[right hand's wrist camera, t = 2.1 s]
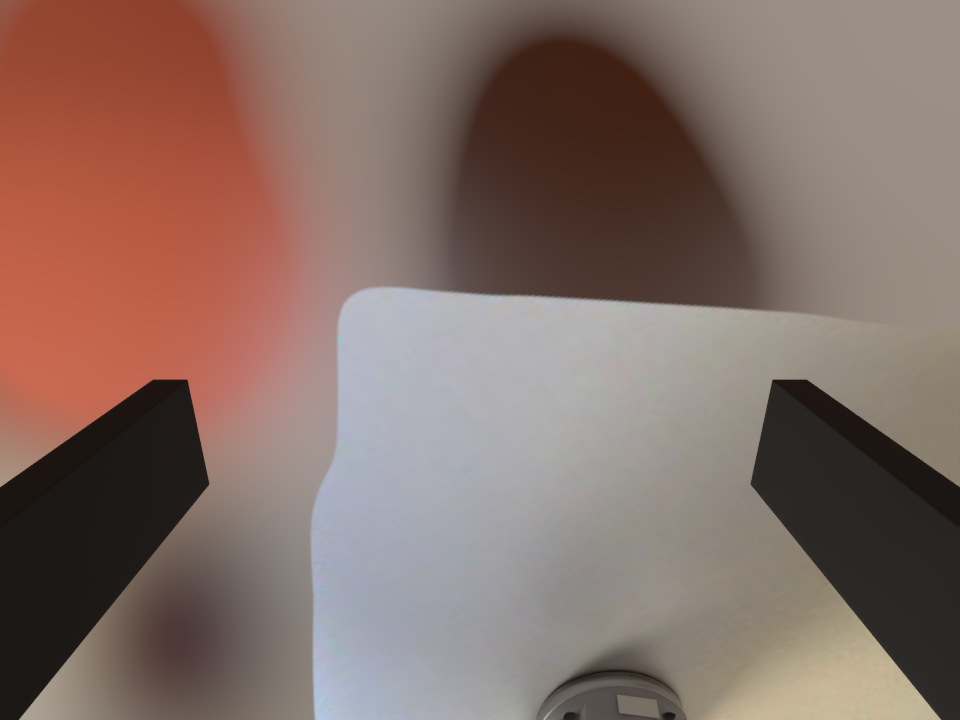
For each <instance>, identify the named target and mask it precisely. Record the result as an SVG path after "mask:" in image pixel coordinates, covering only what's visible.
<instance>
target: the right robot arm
mask: <svg viewBox="0 0 960 720" xmlns="http://www.w3.org/2000/svg"><path fill="white" fill-rule="evenodd" d="M208 485H209V480H208V476H207V471H206V466H205V461H204V457H203V452H202V447H201V442H200V438H199V433H198V428H197V423H196V418H195V414H194V409H193V404H192V399H191V394H190V390H189V385H188V380H152V381H151V382H149V383H148V384H146V385H145V386H144V387H142V388H141V389H139V390H138V391H137V392H135V393H134V394H132V395H131V396H129V397H128V398H126V399H125V400H124V401H122V402H121V403H119V404H118V405H117V406H115V407H114V408H112V409H111V410H109V411H108V412H107V413H105V414H104V415H102V416H101V417H99V418H98V419H97V420H95V421H94V422H92V423H91V424H90V425H88V426H87V427H85V428H84V429H82V430H81V431H80V432H78V433H77V434H75V435H74V436H72V437H71V438H70V439H68V440H67V441H65V442H64V443H63V444H61V445H60V446H58V447H57V448H55V449H54V450H53V451H51V452H50V453H48V454H47V455H46V456H44V457H43V458H41V459H40V460H38V461H37V462H36V463H34V464H33V465H31V466H30V467H28V468H27V469H26V470H24V471H23V472H21V473H20V474H19V475H17V476H16V477H14V478H13V479H11V480H10V481H8V482H7V483H6V484H4V485H3V486H1V487H0V720H19V719H20V718H21V716H22V715H23V714H24V713H25V711H26V710H27V709H28V708H29V707H30V705H31V704H32V703H33V702H34V700H35V699H36V698H37V697H38V695H39V694H40V693H41V692H42V690H43V689H44V688H45V687H46V685H47V684H48V683H49V682H50V681H51V679H52V678H53V677H54V676H55V674H56V673H57V672H58V671H59V669H60V668H61V667H62V666H63V665H64V663H65V662H66V661H67V660H68V658H69V657H70V656H71V655H72V653H73V652H74V651H75V650H76V648H77V647H78V646H79V645H80V644H81V642H82V641H83V640H84V639H85V637H86V636H87V635H88V634H89V632H90V631H91V630H92V629H93V627H94V626H95V625H96V624H97V622H98V621H99V620H100V619H101V617H102V616H103V615H104V614H105V613H106V611H107V610H108V609H109V608H110V606H111V605H112V604H113V603H114V602H115V600H116V599H117V598H118V596H119V595H120V594H121V593H122V592H123V590H124V589H125V588H126V587H127V585H128V584H129V583H130V582H131V580H132V579H133V578H134V577H135V575H136V574H137V573H138V572H139V571H140V569H141V568H142V567H143V566H144V564H145V563H146V562H147V561H148V559H149V558H150V557H151V556H152V555H153V553H154V552H155V551H156V550H157V548H158V547H159V546H160V545H161V543H162V542H163V541H164V540H165V538H166V537H167V536H168V535H169V534H170V532H171V531H172V530H173V529H174V527H175V526H176V525H177V524H178V522H179V521H180V520H181V519H182V517H183V516H184V515H185V514H186V513H187V511H188V510H189V509H190V508H191V506H192V505H193V504H194V503H195V501H196V500H197V499H198V498H199V496H200V495H201V494H202V493H203V491H204V490H205V489H206V488H207V487H208ZM751 485H752V487H753V488H754V489H755V490H756V492H757V493H758V494H759V495H760V496H761V498H762V499H763V500H764V501H765V503H766V504H767V505H768V506H769V508H770V509H771V510H772V511H773V513H774V514H775V515H776V516H777V517H778V519H779V520H780V521H781V522H782V524H783V525H784V526H785V527H786V529H787V530H788V531H789V532H790V534H791V535H792V536H793V537H794V538H795V540H796V541H797V542H798V543H799V545H800V546H801V547H802V548H803V550H804V551H805V552H806V553H807V555H808V556H809V557H810V558H811V559H812V561H813V562H814V563H815V564H816V566H817V567H818V568H819V569H820V571H821V572H822V573H823V574H824V576H825V577H826V578H827V579H828V581H829V582H830V583H831V584H832V585H833V587H834V588H835V589H836V590H837V592H838V593H839V594H840V595H841V597H842V598H843V599H844V600H845V602H846V603H847V604H848V605H849V606H850V608H851V609H852V610H853V611H854V613H855V614H856V615H857V616H858V618H859V619H860V620H861V621H862V623H863V624H864V625H865V626H866V627H867V629H868V630H869V631H870V632H871V634H872V635H873V636H874V637H875V639H876V640H877V641H878V642H879V644H880V645H881V646H882V647H883V648H884V650H885V651H886V652H887V653H888V655H889V656H890V657H891V658H892V660H893V661H894V662H895V663H896V665H897V666H898V667H899V668H900V669H901V671H902V672H903V673H904V674H905V676H906V677H907V678H908V679H909V681H910V682H911V683H912V684H913V686H914V687H915V688H916V689H917V690H918V692H919V693H920V694H921V695H922V697H923V698H924V699H925V700H926V702H927V703H928V704H929V705H930V707H931V708H932V709H933V710H934V711H935V713H936V714H937V715H938V716H939V718H940V719H941V720H960V487H959V486H957V485H956V484H954V483H953V482H952V481H950V480H949V479H947V478H946V477H944V476H943V475H942V474H940V473H939V472H937V471H936V470H934V469H933V468H932V467H930V466H929V465H927V464H926V463H924V462H923V461H922V460H920V459H919V458H917V457H916V456H915V455H913V454H912V453H910V452H909V451H907V450H906V449H905V448H903V447H902V446H900V445H899V444H897V443H896V442H895V441H893V440H892V439H890V438H889V437H888V436H886V435H885V434H883V433H882V432H880V431H879V430H878V429H876V428H875V427H873V426H872V425H870V424H869V423H868V422H866V421H865V420H863V419H862V418H861V417H859V416H858V415H856V414H855V413H853V412H852V411H851V410H849V409H848V408H846V407H845V406H843V405H842V404H841V403H839V402H838V401H836V400H835V399H834V398H832V397H831V396H829V395H828V394H826V393H825V392H824V391H822V390H821V389H819V388H818V387H816V386H815V385H814V384H812V383H811V382H809V381H808V380H772V385H771V390H770V394H769V399H768V404H767V409H766V414H765V418H764V423H763V428H762V433H761V437H760V442H759V447H758V452H757V456H756V461H755V466H754V471H753V475H752V480H751ZM536 720H687V718H686V716H685V713H684V710H683V707H682V705H681V703H680V701H679V699H678V698H677V696H676V695H675V694H674V693H673V692H672V691H671V690H670V689H669V688H668V687H667V686H665V685H664V684H662V683H661V682H659V681H657V680H655V679H653V678H650V677H647V676H644V675H641V674H636V673H631V672H617V671H616V672H602V673H596V674H591V675H587V676H584V677H581V678H578V679H576V680H573V681H571V682H569V683H567V684H565V685H564V686H562V687H560V688H559V689H558V690H556V691H555V692H554V693H553V694H552V695H551V696H550V697H549V698H548V699H547V700H546V701H545V702H544V704H543V705H542V707H541V709H540V710H539V713H538V715H537V719H536Z"/></svg>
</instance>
